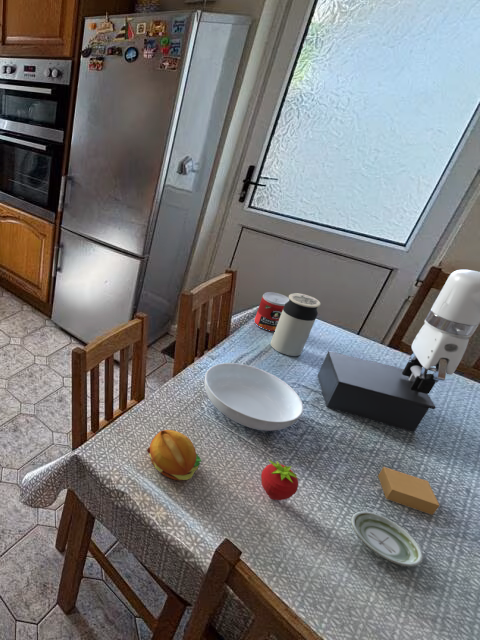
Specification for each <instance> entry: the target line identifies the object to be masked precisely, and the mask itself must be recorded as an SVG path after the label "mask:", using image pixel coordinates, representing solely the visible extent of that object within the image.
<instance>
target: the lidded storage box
mask: <svg viewBox="0 0 480 640" xmlns="http://www.w3.org/2000/svg"><path fill="white" fill-rule="evenodd" d="M317 379H318V383H319V386H320V389H321V393H322V396H323V399H324V403H325V406H326V408H328V409H331V410H335V411H339V412H342V413H345V414H348V415H352V416H355V417H358V418H363V419H366V420H370V421H372V422H376V423H381V424H384V425H386V426H390V427H393V428H397V429H400V430H404V431H408V432H410V433H415V432H416V430H417V428H418V427H419V425H420V423H421V422H422V421H423V419H424V417H425V416H426V414H427V413H428V411H429V410H430V408H427V407H423V406H419V405H415V404H412V403H408V402H404V401H400V400H397V399H393V398H389V397H386V396H382V395H378V394H374V393H371V392H367V391H363V390H359V389H356V388H352V387H348V386H344V385H341V384H338V382H337V379H336V376H335V374H334V371H333V368H332V365H331V362H330V359H329V356H328V352H327V353H326V355H325V357H324V360H323V363H322V364H321V366H320V368H319V371H318V373H317Z"/></svg>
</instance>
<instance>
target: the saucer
mask: <svg viewBox="0 0 480 640" xmlns="http://www.w3.org/2000/svg"><path fill="white" fill-rule="evenodd" d="M350 523H351V527H352V529H353V531H354V533H355V535H356V536H357V537H358V538H359V540H360V541H361V542H362V543H363V544H364V545H365V546H366V547H367V548H369V550H371V551H372V552H373V553H374V554H376V555H377V556H379V557H381V558H383V559H385V560H386V561H389V562H392V563H393V564H396V565H399V566H403V567H417V566H419V565H420V564H421V563H422V562H423V560H424V553H423V551H422V548H421V547H420V545H419V544H418V542H417V541H416V540H415V538H414V537H413V536H412V535H411V534H409V532H408V531H407V530H405V529H404V528H403V527H402V526H400V525H399V524H397V523H396V522H394V521H393V520H391V519H389V518H387V517H386V516H383V515H380V514H379V513H375V512H371V511H363V510H362V511H357V512H355V513H353V515H352V516H351V521H350Z"/></svg>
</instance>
